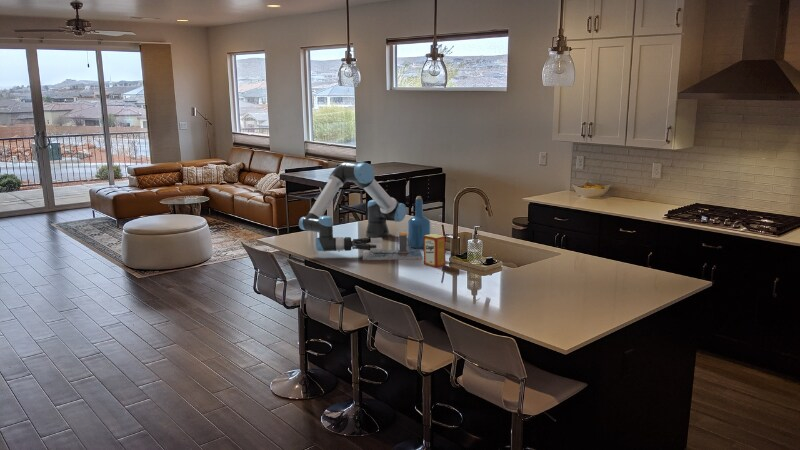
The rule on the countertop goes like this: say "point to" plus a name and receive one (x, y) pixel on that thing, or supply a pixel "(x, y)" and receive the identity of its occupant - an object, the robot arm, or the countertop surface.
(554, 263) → the countertop surface
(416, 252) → the panel
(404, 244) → the breaker handle
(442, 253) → the baking soda box
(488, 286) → the countertop surface
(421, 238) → the wine bottle
